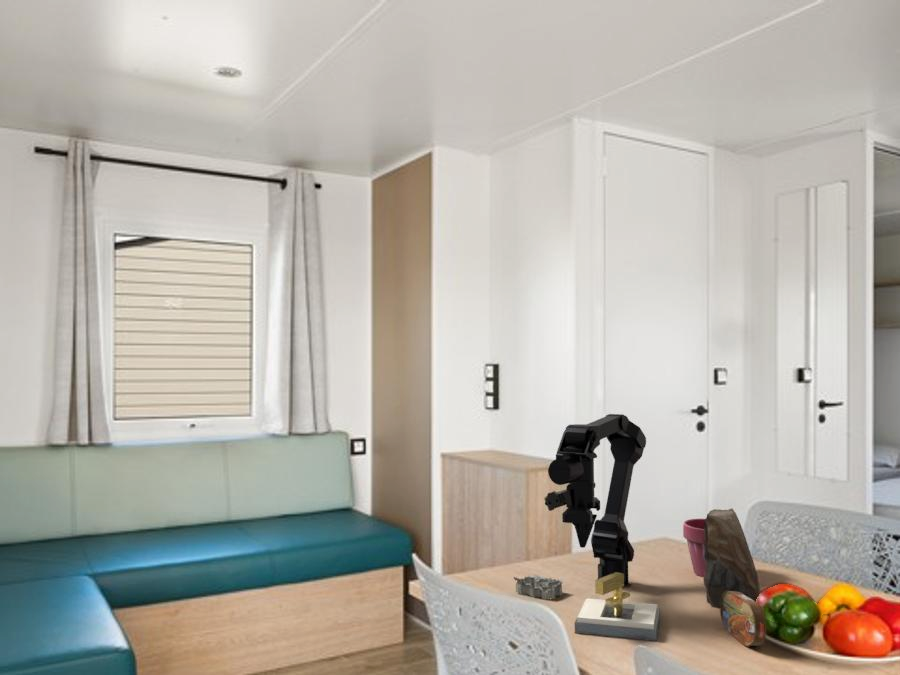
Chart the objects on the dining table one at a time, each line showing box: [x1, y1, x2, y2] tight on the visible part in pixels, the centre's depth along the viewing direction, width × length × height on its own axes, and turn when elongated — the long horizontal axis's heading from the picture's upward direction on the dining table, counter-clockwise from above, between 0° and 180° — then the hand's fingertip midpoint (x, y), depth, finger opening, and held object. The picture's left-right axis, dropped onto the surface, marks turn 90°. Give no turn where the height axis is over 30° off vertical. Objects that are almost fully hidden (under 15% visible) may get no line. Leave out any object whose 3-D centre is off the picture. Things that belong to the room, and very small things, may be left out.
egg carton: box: [513, 574, 565, 600], centre depth 183 cm, size 11×8×4 cm
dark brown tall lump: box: [703, 507, 762, 609], centre depth 177 cm, size 13×13×20 cm
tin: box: [719, 591, 767, 647], centre depth 152 cm, size 15×3×8 cm, turn 5°
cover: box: [576, 598, 658, 629], centre depth 161 cm, size 15×13×1 cm
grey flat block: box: [574, 605, 661, 641], centre depth 160 cm, size 16×14×2 cm
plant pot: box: [682, 518, 706, 578], centre depth 198 cm, size 14×14×13 cm
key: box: [594, 572, 631, 616], centre depth 159 cm, size 11×2×8 cm, turn 136°
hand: (582, 547), depth 178 cm, fingers closed
